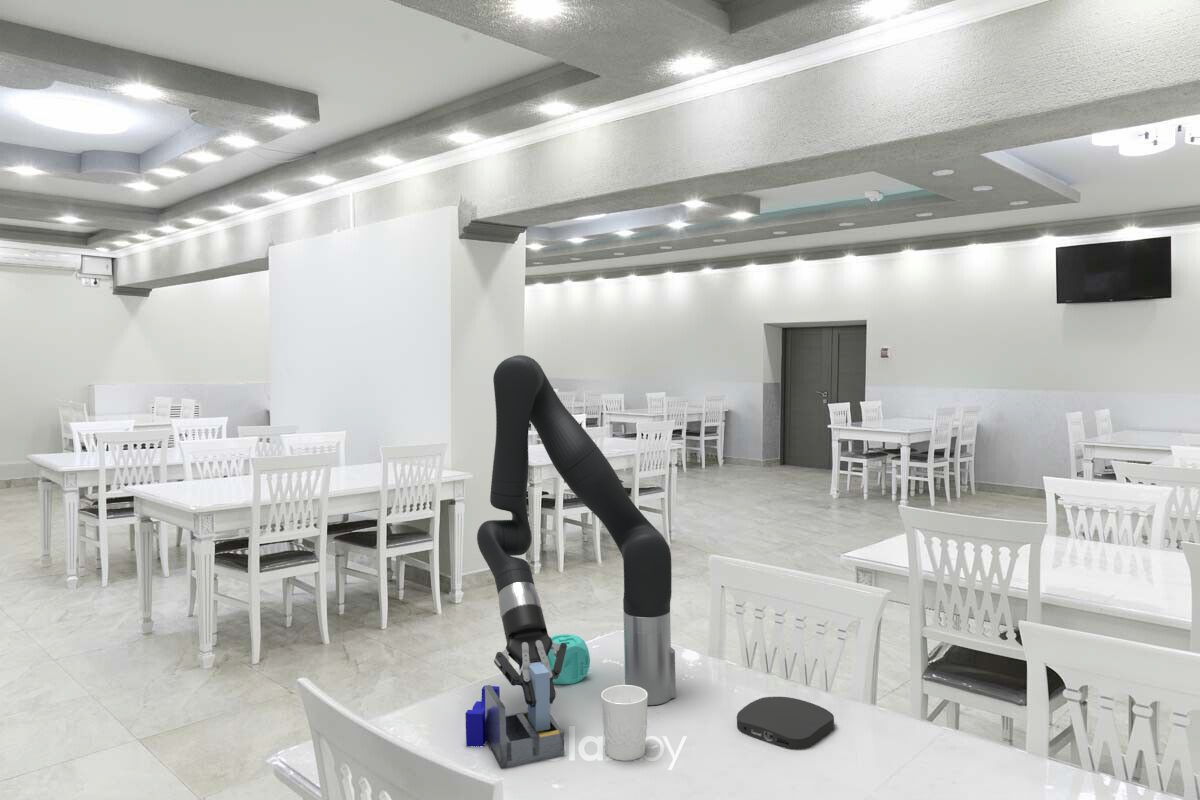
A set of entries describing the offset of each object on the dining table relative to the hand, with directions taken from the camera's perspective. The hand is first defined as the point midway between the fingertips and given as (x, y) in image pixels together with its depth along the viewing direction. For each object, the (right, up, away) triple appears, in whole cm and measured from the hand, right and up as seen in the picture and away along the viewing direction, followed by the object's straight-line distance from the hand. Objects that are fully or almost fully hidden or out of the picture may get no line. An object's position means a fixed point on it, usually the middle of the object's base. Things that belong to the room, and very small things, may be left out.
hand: (542, 703), depth 138 cm
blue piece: (-12, -8, +8) cm, 17 cm away
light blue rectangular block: (-1, -4, +2) cm, 5 cm away
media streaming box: (+43, -8, +7) cm, 45 cm away
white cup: (+14, -8, -1) cm, 16 cm away
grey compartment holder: (-3, -8, +1) cm, 9 cm away
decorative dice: (+3, -7, +32) cm, 33 cm away
